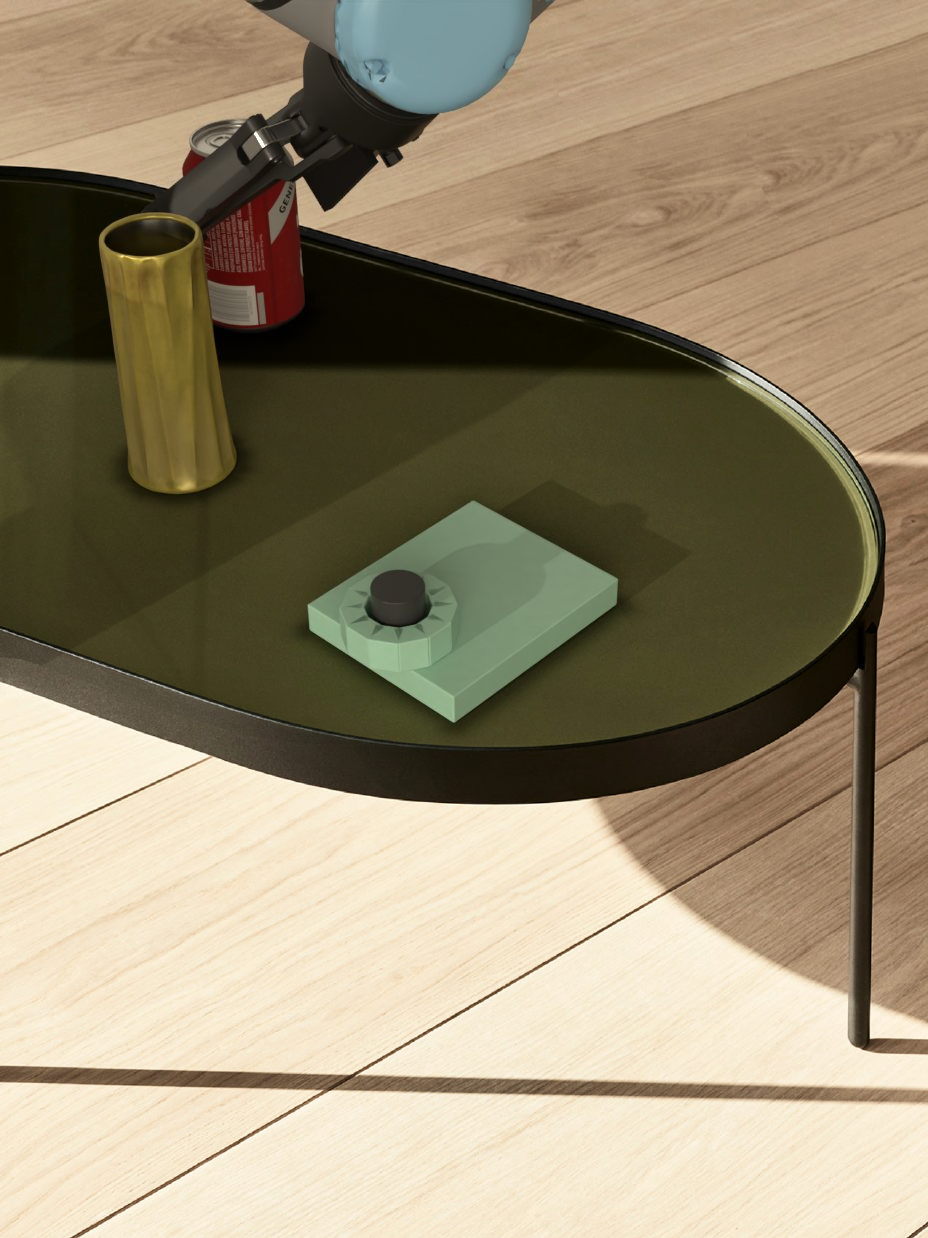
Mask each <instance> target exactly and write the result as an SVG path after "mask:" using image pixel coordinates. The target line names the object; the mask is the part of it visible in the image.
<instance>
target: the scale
mask: <svg viewBox="0 0 928 1238" xmlns="http://www.w3.org/2000/svg"><path fill="white" fill-rule="evenodd" d="M390 570H408V571H411V572H414V573H416V574H418V575H419V576H420V577H421V578H422V579H423V581H424V583H425V592H426V613H425V615H424V617H423V619H422V620H421V621H419V622H418V623H417V624H415V625H410V626H405V627H400V628H398V627H391V626H384V625H381V624H379V623H378V622H377V621H376V620H375V619H374V618H373V616H372V612H371V595H370V585H371V583H372V581H373V579H374V578H375V577H376V576H378V575H379V574H381V573H383V572H386V571H390ZM618 588H619V579H618V578H617V577H616V576H615V575H612V574H610V573H609V572H606V570H603V569H601V568H599V567H597V566H595V565H594V564H592V563H590V562H588V561H587V560H584V559H583V558H581V557H579V556H577V555H575V554H574V553H571V552H570V551H567V550H566V549H564V548H562V547H561V546H559V545H557V544H556V543H553V542H551V541H549V540H547V539H546V538H544V537H543V536H540V535H538V534H536V533H535V532H534V531H533V532H532V531H531V530H529V529H527V528H526V527H524V526H523V525H522V526H521V525H520V524H518V523H516V522H515V521H513V520H511V519H508V518H507V517H505V516H504V515H501V514H500V513H498V512H496V511H494V510H492V509H490V508H489V507H486V506H485V505H484V504H481V503H479V502H478V501H476V500H471V501H469V502H468V503H465V505H464V506H462V507H460V508H459V509H457V510H456V511H454V512H452V513H451V514H449V515H448V516H446V517H444V518H442V519H441V520H439V521H438V522H436V523H435V524H433V525H431V526H430V527H428V528H427V529H425V530H424V531H422V532H420V533H419V534H417V535H416V536H414V537H412V538H411V539H409V540H407V541H406V542H405V543H403V544H400V546H398V547H396V548H395V549H393V550H391V551H390V552H389V553H387V554H386V555H384V556H382V557H381V558H379V559H377V560H376V561H374V562H372V563H371V564H370V565H368V566H366V567H365V568H363V569H361V570H360V571H358V572H357V573H355V574H354V575H352V576H350V577H348V578H347V579H346V580H344V581H342V582H341V583H339V584H338V585H336V586H335V587H333V588H332V589H330V590H328V591H327V592H325V593H323V594H321V596H318V597H317V598H316V599H314V600H312V601H311V602H309V603H308V604H307V615H308V616H307V617H308V626H309V630H310V632H311V633H314V634H315V635H317V636H318V637H320V638H321V639H323V640H324V641H326V642H327V643H329V644H330V645H332V646H333V647H334V648H337V649H338V650H340V651H342V652H343V653H344V654H346V655H348V656H349V657H351V658H352V659H354V660H355V661H357V662H358V663H360V664H361V665H363V666H365V667H366V668H367V669H369V670H371V671H372V672H374V673H376V674H377V675H379V676H380V677H382V678H383V679H385V680H386V681H388V682H389V683H391V684H392V685H394V686H396V687H397V688H399V689H400V690H402V691H403V692H405V693H407V694H408V695H410V696H411V697H412V698H414V699H416V700H417V701H419V702H421V703H422V704H424V705H425V706H427V707H428V708H430V709H431V710H433V711H435V712H436V713H438V714H439V715H441V716H443V718H445V719H447V720H448V721H450V722H452V723H457V721H459V720H460V719H462V718H463V717H464V716H466V715H467V714H469V713H470V712H471V711H472V710H474V709H475V708H476V707H478V706H479V705H481V704H482V703H483V702H485V701H486V700H488V699H489V698H491V697H492V696H493V695H495V694H496V693H497V692H499V691H500V690H501V689H503V688H504V687H505V686H507V685H508V684H509V683H511V682H513V680H515V679H516V678H518V677H519V676H520V675H522V674H523V673H525V672H526V671H528V670H529V669H530V668H531V667H533V666H534V665H536V664H537V663H538V662H540V661H541V660H542V659H544V658H545V657H546V656H548V655H550V654H551V653H553V651H555V650H556V649H557V648H560V646H561V645H563V644H565V643H566V642H567V641H568V640H570V639H571V638H572V637H574V636H575V635H577V634H578V633H580V632H581V631H582V630H584V629H585V628H587V627H588V626H589V625H590V624H591V623H593V622H594V621H596V620H597V619H598V618H600V617H601V616H603V615H604V614H605V613H607V612H608V611H609V610H611V609H612V608H613V607H615V606H617V603H618Z"/></svg>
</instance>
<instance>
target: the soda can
mask: <svg viewBox="0 0 928 1238" xmlns="http://www.w3.org/2000/svg"><path fill="white" fill-rule="evenodd" d="M247 119H248V117H247V118H245V117H244V118H243V117H241V118H239V117H238V118H237V117H236V118H226V119H220V120H215V121H211V122H208V123H206V124H203V125H201V126H200V127H198V128H197V129H195V130H194V131H192V133H190V136H189V138H188V144H189V147H190V150H189V152H188V154H187V155H186V157H185V159H184V161H183V163H182V167H181V168H182V169H181V171H182V173H181V174H182V177H183V176H185V175H186V174H187V173H188V172H189V171H191V170H192V169H193V168H194V167H196V166H197V165H198V164H199V163H200V162H202V161H203V160H204V159H205V158H207V157H208V156H209V155H210V154H211V153H213V152H214V151H215V150H216V149H217V148H219V147H220V146H221V145H222V144H224V143H225V142H226V141H227V140H228V139H230V137H231V136H232V135H233V134H234V133H235V132H236V131H237V130H238V129H239V128H240V127H241V126H242V125H243V123H244V122H246V121H247ZM282 148H283V150H284V151H285V153H286V155H287V156H288V158H289V160H290V161H291V163H292V165H293V166H295V160H294V158H293V156H292V154H291V153H290V152H289V151H288V149H287V148H286V147H285V145H284V146H283V147H282ZM297 195H298V194H297V181H295V182H287V181H283V180H281V181H280V182H278V183H277V184H275V185H274V186H272V187H271V188H270V189H268V190H267V191H265V192H264V193H262V194H261V195H260V196H258V197H257V198H255V199H254V200H252V201H251V202H250V203H248V204H247V205H245V206H244V207H242V208H241V209H240V210H238V211H237V212H235V213H234V214H232V215H231V216H229V217H228V218H227V219H225V220H224V221H222V222H221V223H219V224H218V225H217V226H215V227H214V228H212V229H211V230H209V231H208V232H207V233H205V234H206V235H207V237H208V239H207V240H206V241H205V242H204V255H205V263H206V271H207V280H208V288H209V296H210V304H211V313H212V321H213V326H214V327H217V328H220V329H223V330H226V331H229V332H233V333H237V334H238V333H239V334H261V333H266V332H270V331H273V330H277V329H278V328H280V327H282V326H284V325H286V324H289V323H290V322H292V321H293V320H295V319H296V318H297V317H298V316H299V315H300V314H301V313H302V311H303V310H304V308H305V304H306V297H305V296H306V295H305V284H304V272H303V258H302V245H301V244H302V243H301V233H300V231H301V230H300V220H299V219H300V218H299V210H298V209H299V208H298V207H299V206H298V196H297Z"/></svg>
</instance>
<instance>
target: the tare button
mask: <svg viewBox="0 0 928 1238" xmlns="http://www.w3.org/2000/svg"><path fill="white" fill-rule="evenodd" d="M370 595H371V612H372V616H373V618H374V619H375V620H376V621H377V622H378V623H379V624H381V625H384V626H391V627H398V628H400V627H405V626H410V625H415V624H417V623H418V622H419V621H421V620H422V619H423V617H424V615H425V613H426V592H425V583H424V581H423V579H422V578H421V577H420V576H419V575H418V574H416V573H414V572H411V571H408V570H390V571H386V572H383V573H381V574H379V575H378V576H376V577H375V578H374V579H373V581H372V583H371V585H370Z"/></svg>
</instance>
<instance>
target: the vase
mask: <svg viewBox="0 0 928 1238" xmlns="http://www.w3.org/2000/svg"><path fill="white" fill-rule="evenodd" d="M98 248H99V256H100V262H101V268H102V273H103V274H102V275H103V279H104V285H105V292H106V298H107V304H108V312H109V319H110V328H111V335H112V343H113V352H114V359H115V365H116V370H117V380H118V388H119V395H120V403H121V404H120V405H121V412H122V416H123V424H124V430H125V437H126V447H127V469H128V473H129V476H130V477H131V479H132V480H133V481H134V482H135V483H137V484H138V485H139V486H141V487H142V488H144V489H145V490H146V489H147V490H149V491H152V492H156V493H163V494H170V495H184V494H192V493H197V492H200V491H205V490H206V489H209V488H212V487H213V486H216V485H218V484H220V483H221V482H223V481H224V480H225V479H226V478H227V477H228V476H229V475H230V474H231V472H233V470H234V469H235V467H236V464H237V450H236V449H237V448H236V447H235V444H234V443H235V442H234V441H233V440H234V439H233V435H232V429H231V425H230V422H229V417H228V412H227V407H226V403H225V397H224V391H223V386H222V380H221V374H220V368H219V361H218V354H217V348H216V342H215V334H214V333H215V332H214V325H213V321H212V313H211V304H210V296H209V288H208V280H207V271H206V263H205V255H204V243H203V237H202V232H201V229H200V227H199V226H198V225H197V224H196V223H195V222H193V221H192V220H190V219H189V218H186V217H184V216H180V215H176V214H172V213H160V212H154V213H142V214H141V213H136V214H132V215H128V216H125V217H123V218H121V219H117V220H116V221H114V222H112V223H110V224H109V225H107V226H106V227H105V228H104V229H103V230H102V231H101V233H100V234H99V237H98Z"/></svg>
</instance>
